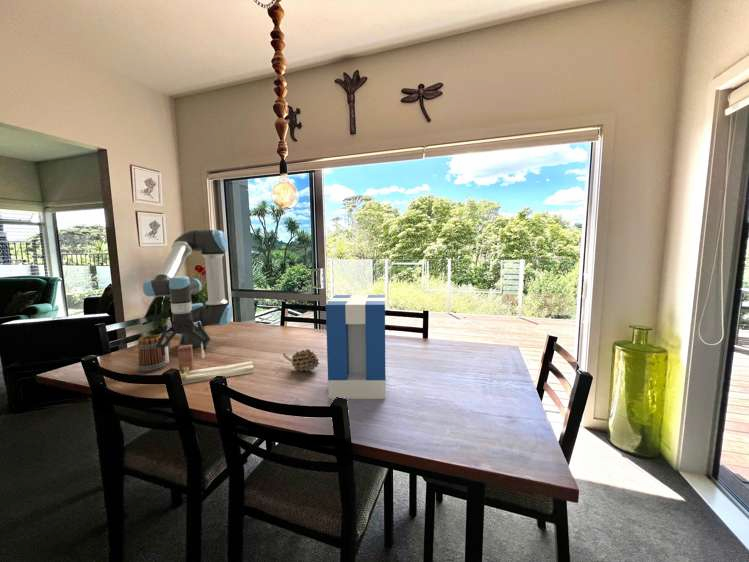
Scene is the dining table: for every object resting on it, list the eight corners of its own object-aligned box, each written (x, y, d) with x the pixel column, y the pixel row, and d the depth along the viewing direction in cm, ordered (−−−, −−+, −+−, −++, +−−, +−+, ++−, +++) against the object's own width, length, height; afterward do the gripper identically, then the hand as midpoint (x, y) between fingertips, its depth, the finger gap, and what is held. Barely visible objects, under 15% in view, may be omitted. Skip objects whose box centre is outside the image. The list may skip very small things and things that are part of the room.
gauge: (181, 372, 140) (179, 346, 138) (194, 370, 142) (192, 344, 140) (175, 385, 127) (173, 356, 125) (189, 382, 129) (187, 354, 127)
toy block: (337, 374, 136) (334, 295, 132) (385, 374, 135) (384, 294, 131) (328, 398, 115) (325, 304, 111) (385, 398, 114) (384, 304, 110)
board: (178, 376, 135) (177, 372, 135) (252, 365, 147) (252, 361, 147) (174, 385, 127) (174, 380, 127) (253, 372, 139) (253, 368, 139)
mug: (152, 374, 139) (148, 341, 137) (132, 372, 141) (129, 340, 139) (180, 361, 154) (177, 331, 152) (162, 359, 156) (159, 330, 154)
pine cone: (324, 369, 141) (324, 348, 140) (310, 378, 133) (310, 355, 132) (288, 361, 152) (287, 341, 150) (273, 368, 143) (272, 347, 142)
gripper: (144, 316, 127) (149, 367, 129) (213, 311, 137) (216, 357, 139) (149, 313, 134) (153, 361, 136) (214, 308, 144) (217, 352, 146)
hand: (185, 359), depth 138 cm, fingers open, 13 cm apart
